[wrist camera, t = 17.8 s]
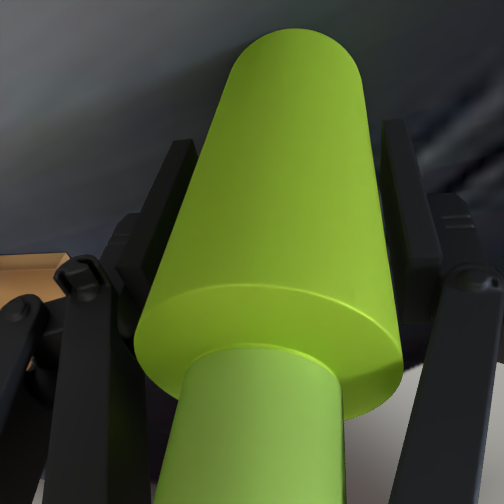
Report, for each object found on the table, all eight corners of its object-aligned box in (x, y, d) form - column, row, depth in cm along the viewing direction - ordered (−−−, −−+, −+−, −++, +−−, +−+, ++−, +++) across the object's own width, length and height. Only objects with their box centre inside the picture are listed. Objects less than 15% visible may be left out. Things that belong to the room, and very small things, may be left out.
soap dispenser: (231, 173, 22) (66, 814, 8) (221, 26, 17) (-282, 1056, 3) (349, 179, 21) (400, 882, 7) (373, 28, 16) (693, 1337, 2)
